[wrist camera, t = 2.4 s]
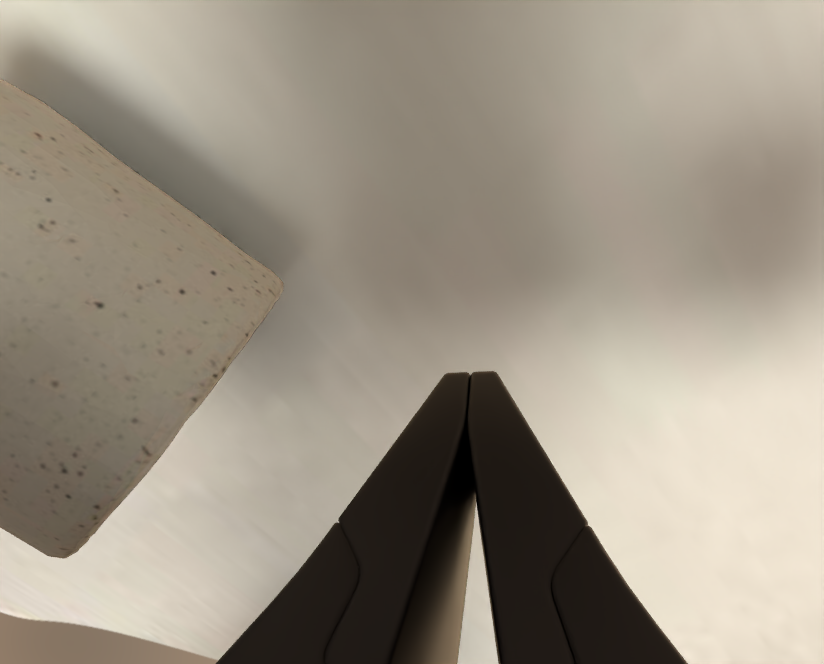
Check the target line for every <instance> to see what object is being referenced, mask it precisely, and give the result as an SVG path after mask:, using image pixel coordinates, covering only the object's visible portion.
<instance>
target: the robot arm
mask: <svg viewBox="0 0 824 664" xmlns="http://www.w3.org/2000/svg"><path fill="white" fill-rule="evenodd" d="M476 502H477V510H478V517H479V525H480V532H481V539H482V546H483V554H484V561H485V568H486V575H487V583H488V590H489V597H490V604H491V612H492V619H493V626H494V633H495V641H496V648H497V655H498V663H499V664H688V663H687V662H686V661H685V660H684V658H683V657H682V656H681V654H680V653H679V652H678V651H677V649H676V648H675V647H674V645H673V644H672V643H671V642H670V640H669V639H668V638H667V636H666V635H665V634H664V633H663V631H662V630H661V629H660V628H659V626H658V625H657V624H656V622H655V621H654V620H653V618H652V617H651V616H650V614H649V613H648V612H647V610H646V609H645V607H644V606H643V605H642V603H641V602H640V601H639V599H638V598H637V597H636V595H635V594H634V593H633V591H632V590H631V589H630V587H629V586H628V584H627V583H626V581H625V580H624V578H623V577H622V575H621V574H620V572H619V571H618V569H617V568H616V566H615V565H614V563H613V562H612V560H611V559H610V557H609V555H608V554H607V552H606V551H605V549H604V548H603V546H602V544H601V543H600V541H599V540H598V538H597V536H596V535H595V533H594V531H593V530H592V528H591V527H590V526H588V522H587V520H586V519H585V517H584V515H583V514H582V512H581V510H580V509H579V507H578V505H577V504H576V502H575V501H574V499H573V497H572V496H571V494H570V492H569V491H568V489H567V487H566V486H565V484H564V482H563V481H562V479H561V478H560V476H559V474H558V473H557V471H556V469H555V468H554V466H553V464H552V463H551V461H550V459H549V458H548V456H547V454H546V453H545V451H544V450H543V448H542V446H541V445H540V443H539V441H538V440H537V438H536V436H535V435H534V433H533V431H532V430H531V428H530V427H529V425H528V423H527V422H526V420H525V418H524V417H523V415H522V413H521V412H520V410H519V408H518V407H517V405H516V403H515V402H514V400H513V399H512V397H511V395H510V394H509V392H508V390H507V389H506V387H505V385H504V384H503V382H502V380H501V379H500V377H499V376H498V374H497V373H496V372H494V371H483V372H473V373H472V374H471V376H470V374H469V373H467V372H459V373H447V374H445V375H444V376H443V377H442V379H441V380H440V381H439V383H438V384H437V386H436V387H435V388H434V390H433V391H432V392H431V394H430V395H429V396H428V398H427V399H426V400H425V402H424V403H423V405H422V406H421V407H420V409H419V410H418V411H417V413H416V414H415V415H414V417H413V418H412V419H411V421H410V422H409V424H408V425H407V426H406V428H405V429H404V430H403V432H402V433H401V434H400V436H399V437H398V438H397V440H396V441H395V443H394V444H393V445H392V447H391V448H390V449H389V451H388V452H387V453H386V455H385V456H384V458H383V459H382V460H381V462H380V463H379V464H378V466H377V467H376V468H375V470H374V471H373V472H372V474H371V475H370V477H369V478H368V479H367V481H366V482H365V483H364V485H363V486H362V487H361V489H360V490H359V491H358V493H357V494H356V496H355V497H354V498H353V500H352V501H351V502H350V504H349V505H348V506H347V508H346V509H345V510H344V512H343V513H342V515H341V516H340V517H339V519H338V521H339V523H338V522H336V523H335V524H334V525H333V526H332V528H331V529H330V530H329V532H328V533H327V535H326V536H325V537H324V539H323V540H322V541H321V543H320V544H319V545H318V546H317V548H316V549H315V550H314V552H313V553H312V554H311V555H310V557H309V558H308V559H307V561H306V562H305V563H304V564H303V566H302V567H301V568H300V570H299V571H298V572H297V573H296V574H295V576H294V577H293V578H292V579H291V580H290V581H289V582H288V584H287V585H286V586H285V587H284V588H283V589H282V591H281V592H280V593H279V594H278V595H277V596H276V597H275V599H274V600H273V601H272V602H271V603H270V604H269V606H268V607H267V608H266V609H265V610H264V611H263V612H262V613H261V614H260V615H259V617H258V618H257V619H256V620H255V621H254V622H253V623H252V624H251V625H250V626H249V628H248V629H247V630H246V631H245V632H244V633H243V634H242V635H241V636H240V637H239V639H238V640H237V641H236V642H235V643H234V644H233V645H232V646H231V647H230V648H229V650H228V651H227V652H226V653H225V654H224V655H223V656H222V657H221V658H220V659H219V661H218V662H217V663H216V664H457V662H458V653H459V645H460V636H461V628H462V619H463V611H464V602H465V594H466V586H467V577H468V569H469V560H470V552H471V543H472V535H473V526H474V518H475V507H476Z"/></svg>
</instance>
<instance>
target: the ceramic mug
mask: <svg viewBox="0 0 824 664" xmlns="http://www.w3.org/2000/svg"><path fill="white" fill-rule="evenodd" d="M282 292H283V282H282V281H281V280H280V279H279V277H278V276H277V275H276V274H275V273H274V272H273V271H271V270H270V269H268V268H267V267H265V266H264V265H262V264H261V263H259V262H258V261H256V260H255V259H254V258H252V257H251V256H249V255H248V254H246V253H245V252H243V251H242V250H240V249H239V248H238V247H237V246H235V245H234V244H233V243H232V242H230V241H229V240H228V239H226V238H225V237H224V236H223V235H221V234H220V233H219V232H218V231H216V230H215V229H214V228H213V227H211V226H210V225H209V224H207V223H206V222H205V221H203V220H202V219H201V218H199V217H198V216H196V215H195V214H194V213H192V212H191V211H190V210H188V209H187V208H185V207H184V206H183V205H181V204H180V203H179V202H177V201H176V200H174V199H173V198H172V197H170V196H169V195H168V194H166V193H165V192H163V191H162V190H160V189H159V188H158V187H156V186H155V185H153V184H152V183H150V182H149V181H148V180H146V179H145V178H143V177H142V176H140V175H139V174H138V173H136V172H135V171H134V170H132V169H131V168H130V167H128V166H127V165H125V164H124V163H123V162H121V161H120V160H119V159H117V158H116V157H114V156H113V155H112V154H111V153H109V152H108V151H107V150H106V149H104V148H103V147H102V146H101V145H99V144H98V143H97V142H96V141H94V140H93V139H92V138H91V137H89V136H88V135H87V134H86V133H85V132H83V131H82V130H81V129H79V128H78V127H77V126H75V125H74V124H73V123H71V122H70V121H68V120H67V119H66V118H64V117H63V116H61V115H60V114H59V113H57V112H56V111H54V110H53V109H52V108H50V107H49V106H47V105H46V104H45V103H43V102H42V101H40V100H38V99H37V98H35V97H33V96H31V95H29V94H27V93H26V92H24V91H22V90H20V89H18V88H17V87H15V86H13V85H11V84H9V83H8V82H6V81H4V80H2V79H0V528H2V529H4V530H6V531H7V532H9V533H11V534H12V535H14V536H16V537H17V538H19V539H21V540H22V541H24V542H26V543H27V544H29V545H31V546H32V547H34V548H36V549H37V550H39V551H41V552H42V553H44V554H46V555H47V556H51V557H58V558H67V557H69V556H70V555H72V554H74V553H76V552H77V551H78V550H79V549H80V548H81V547H82V546H83V545H84V544H85V543H86V542H87V541H88V540H89V538H90V536H92V535H93V534H94V533H95V532H96V531H97V530H98V528H99V527H100V526H101V525H102V523H103V522H104V521H105V520H106V519H107V518H108V516H109V515H110V514H111V513H112V512H113V511H114V510H115V509H116V508H117V507H118V506H119V505H120V503H121V502H122V501H123V500H124V499H125V498H126V497H127V496H128V494H129V493H130V492H131V491H132V490H133V489H134V488H135V487H136V485H137V484H138V483H139V482H140V481H141V480H142V479H143V477H144V476H145V475H146V474H147V473H148V472H149V470H150V469H151V468H152V467H153V465H154V464H155V463H156V462H157V460H158V459H159V458H160V457H161V455H162V454H163V453H164V451H165V450H166V449H167V447H168V446H169V445H170V443H171V442H172V441H173V439H174V438H175V436H176V435H177V433H178V432H179V430H180V429H181V427H182V426H183V425H184V423H185V422H186V421H187V419H188V418H189V417H190V416H191V415H192V414H193V413H194V412H195V410H196V409H197V408H198V407H199V406H200V405H201V404H202V402H203V401H204V400H205V398H206V397H207V396H208V394H209V393H210V392H211V390H212V389H213V388H214V386H215V385H216V384H217V382H218V381H219V379H220V378H221V377H222V375H223V374H224V373H225V371H226V370H227V368H228V367H229V365H230V364H231V362H232V361H233V360H234V359H235V357H236V356H237V355H238V354H239V352H240V351H241V350H242V349H243V347H244V346H245V345H246V343H247V342H248V341H249V339H250V338H251V336H252V335H253V333H254V331H255V330H256V329H257V328H258V326H259V325H260V324H261V323H262V321H263V320H264V319H265V317H266V315H267V314H268V312H269V311H270V310H271V309H272V308H273V305H274V303H275V302H276V301H277V300H278V299H279V298H280V294H281V293H282Z"/></svg>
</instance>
